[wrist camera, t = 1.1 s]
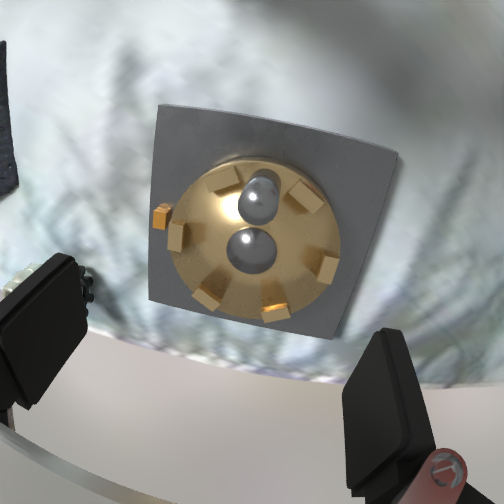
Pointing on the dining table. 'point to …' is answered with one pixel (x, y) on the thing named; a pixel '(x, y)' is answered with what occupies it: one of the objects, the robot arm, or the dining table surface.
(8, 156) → the dark slate chunk
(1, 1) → the dining table surface
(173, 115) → the housing
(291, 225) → the brass crank wheel
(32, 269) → the valve
